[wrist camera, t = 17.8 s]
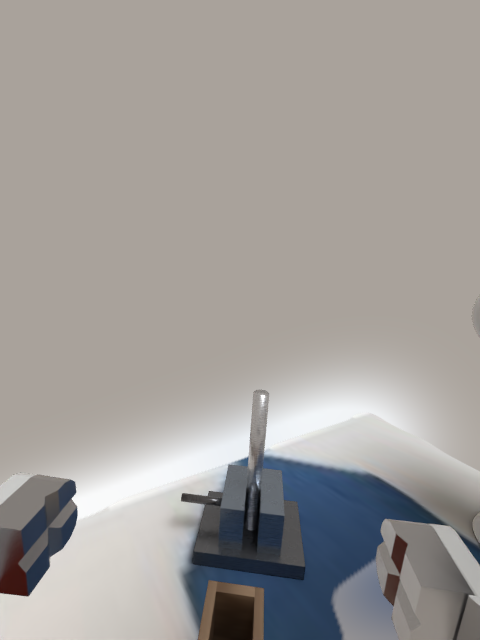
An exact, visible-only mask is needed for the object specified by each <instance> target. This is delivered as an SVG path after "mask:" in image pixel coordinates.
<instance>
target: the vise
mask: <svg viewBox="0 0 480 640" xmlns="http://www.w3.org/2000/svg"><path fill="white" fill-rule="evenodd" d="M268 401H269V393H268V392H267V391H265V390H256V391H254V392H253V406H252V419H251V433H250V446H249V460H248V467H246V466H237V465H229V466H228V471H227V476H226V481H225V487H224V492H223V493H221V492H213V491H209V493H208V496H202V495H194V494H185V493H183V494H182V497H181V501H183V502H191V503H198V504H206V505H205V509H204V513H203V517H202V521H201V525H200V528H199V532H198V536H197V540H196V544H195V548H194V558H193V564H197V565H204V566H211V567H218V568H225V569H232V570H239V571H246V572H253V573H259V574H266V575H273V576H280V577H287V578H294V579H301V580H304V572H305V561H304V553H303V545H302V537H301V529H300V521H299V513H298V504H297V502H294V501H286V500H284V499H283V484H282V471H280V470H272V469H263V459H264V448H265V447H264V446H265V436H266V424H267V412H268Z"/></svg>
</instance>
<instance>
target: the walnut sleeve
mask: <svg viewBox="0 0 480 640" xmlns="http://www.w3.org/2000/svg"><path fill="white" fill-rule="evenodd" d="M263 629H264V588H258V587H251V586H244V585H237V584H230V583H224V582H217V581H210V580H209V582H208V587H207V593H206V598H205V604H204V609H203V614H202V620H201V625H200V631H199V636H198V640H263Z"/></svg>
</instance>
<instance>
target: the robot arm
mask: <svg viewBox="0 0 480 640" xmlns="http://www.w3.org/2000/svg"><path fill="white" fill-rule="evenodd" d="M472 320H473V325H474V328H475V330H476V332H477V334H478V336H479V337H480V295H479V296H478V298H477V300H476V302H475V304H474V307H473V311H472ZM75 493H76V486H75V482H74V481H72V480H69V479H62V478H56V477H50V476H44V475H34V474H27V473H22V472H20V473H17V474H14V475H13V476H11V477H10V478H9V479H8V480H7V481H5V482H4V483H3V484H2V485H1V486H0V593H3V594H11V595H20V596H29V595H30V594H31V592H32V591H33V589H34V588H35V587H36V585H37V584H38V582H39V581H40V580H41V578H42V577H43V575H44V574H45V573H46V571H47V570H48V569H49V567H50V557H51V556H52V555H54V554H55V553H57V552H58V551H60V550H61V549H63V547H64V546H65V544H66V543H67V542H68V540H69V539H70V537H71V535H72V532H73V530H74V528H75V525H76V520H77V506H76V505H75V503H74V502H73V500H72V497H73V496H74V495H75ZM472 526H473V531H474V534H475V536H476V538H477V540H478V542H479V543H480V512H479V513H478V514H477V515H476V516H475V518H474V519H473V524H472ZM381 534H382V537H383V539H384V542H382V543H381V544H380V545H379V546H378V548H377V555H376V565H377V574H378V579H379V583H380V586H381V589H382V592H383V595H384V596H385V597H386V599H387V600H388V601H389V602H390V603H391V604H392V605H393V606H394V608H393V613H392V621H393V624H394V627H395V630H396V632H397V635H398V638H399V640H480V565H479V564H478V562H477V561H476V559H475V558H474V557H473V555H472V554H471V552H470V551H469V550H468V548H467V547H466V545H465V544H464V542H463V541H462V540H461V538H460V537H459V535H458V534H457V533H456V531H455V530H454V529H453V528H451V527H450V526H445V525H436V524H425V523H416V522H408V521H399V520H390V519H385V520H384V521H383V523H382V527H381Z"/></svg>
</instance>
